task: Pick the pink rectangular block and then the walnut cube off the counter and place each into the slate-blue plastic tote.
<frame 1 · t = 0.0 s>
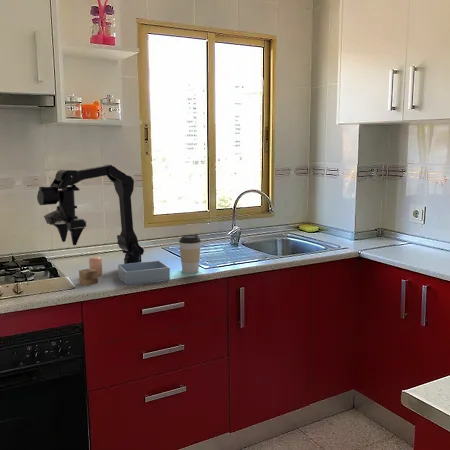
hand: (69, 243, 194), 15 cm above the worktop, fingers open, 9 cm apart
pink rectangular block: (96, 274, 205), on the worktop
cube: (88, 283, 193), on the worktop
coffee cup: (190, 271, 211), on the worktop
tote: (143, 278, 199), on the worktop
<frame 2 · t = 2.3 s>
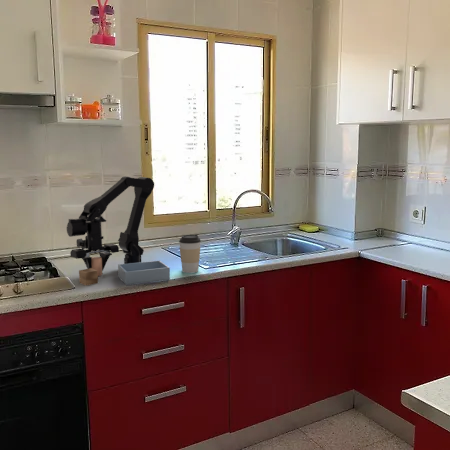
hand: (96, 271, 205), 1 cm above the worktop, fingers closed on pink rectangular block, 5 cm apart
pink rectangular block: (96, 274, 205), on the worktop, touching gripper
everything else where it was.
when the fingers open (5 cm above the worktop, at t = 5.9 s): pink rectangular block drops 4 cm, resting on tote.
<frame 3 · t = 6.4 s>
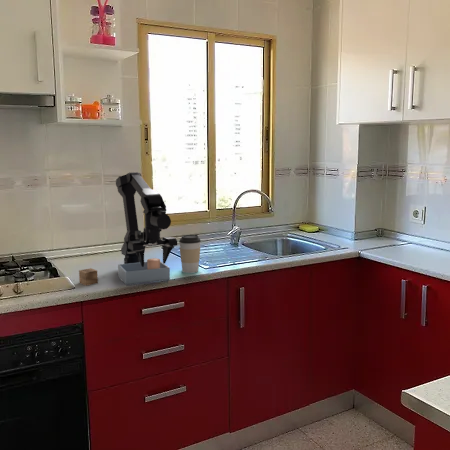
hand: (153, 265, 198), 5 cm above the worktop, fingers open, 9 cm apart
pink rectangular block: (154, 277, 198), point 1 cm above the worktop, touching tote
everything else where it was.
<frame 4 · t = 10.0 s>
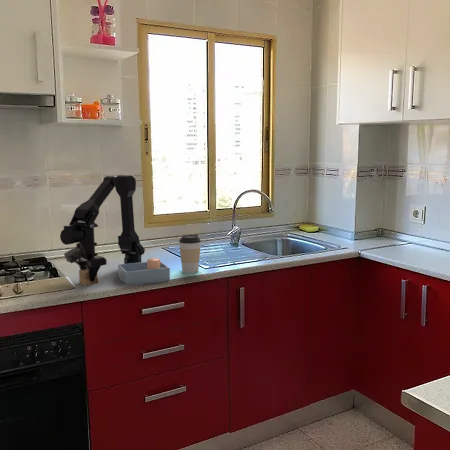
hand: (88, 280, 193), 1 cm above the worktop, fingers closed on cube, 5 cm apart
cube: (88, 282, 193), on the worktop, touching gripper
everything else where it was.
when the fingers open (5 cm above the worktop, at t = 13.1 s): cube drops 4 cm, resting on tote.
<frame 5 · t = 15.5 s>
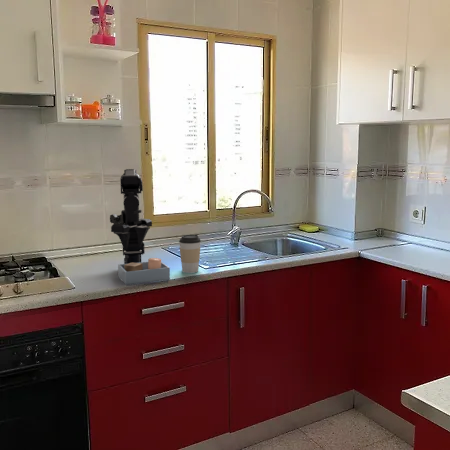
hand: (132, 247, 197), 12 cm above the worktop, fingers open, 9 cm apart
cube: (133, 276, 199), point 1 cm above the worktop, touching tote
everything else where it was.
at the end: pink rectangular block inside the target area on the tote (4.1 cm from its centre), point 0.8 cm above the tote's base; cube inside the target area on the tote (4.0 cm from its centre), point 0.6 cm above the tote's base; the gripper is holding nothing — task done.
